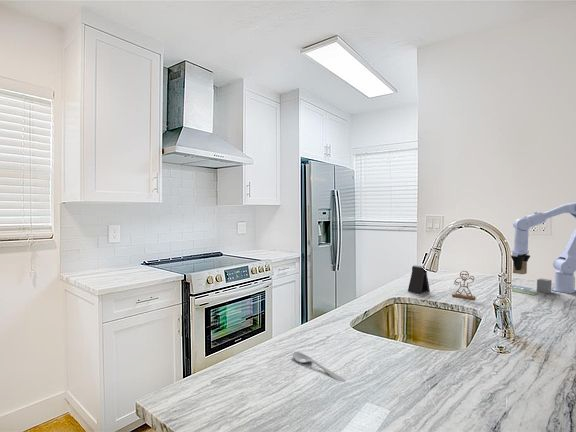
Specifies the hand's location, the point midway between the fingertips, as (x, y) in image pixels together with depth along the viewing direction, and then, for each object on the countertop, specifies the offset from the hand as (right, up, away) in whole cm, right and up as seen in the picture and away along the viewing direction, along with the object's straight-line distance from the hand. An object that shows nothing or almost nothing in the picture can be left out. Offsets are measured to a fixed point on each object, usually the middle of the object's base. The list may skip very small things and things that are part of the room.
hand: (520, 269), depth 179 cm
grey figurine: (-38, -10, -19) cm, 43 cm away
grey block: (+7, -10, -7) cm, 14 cm away
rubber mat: (-4, -10, -8) cm, 13 cm away
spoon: (-108, -12, -90) cm, 141 cm away
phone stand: (-54, -9, -9) cm, 55 cm away
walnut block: (0, -2, 0) cm, 2 cm away
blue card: (0, -9, 0) cm, 9 cm away
